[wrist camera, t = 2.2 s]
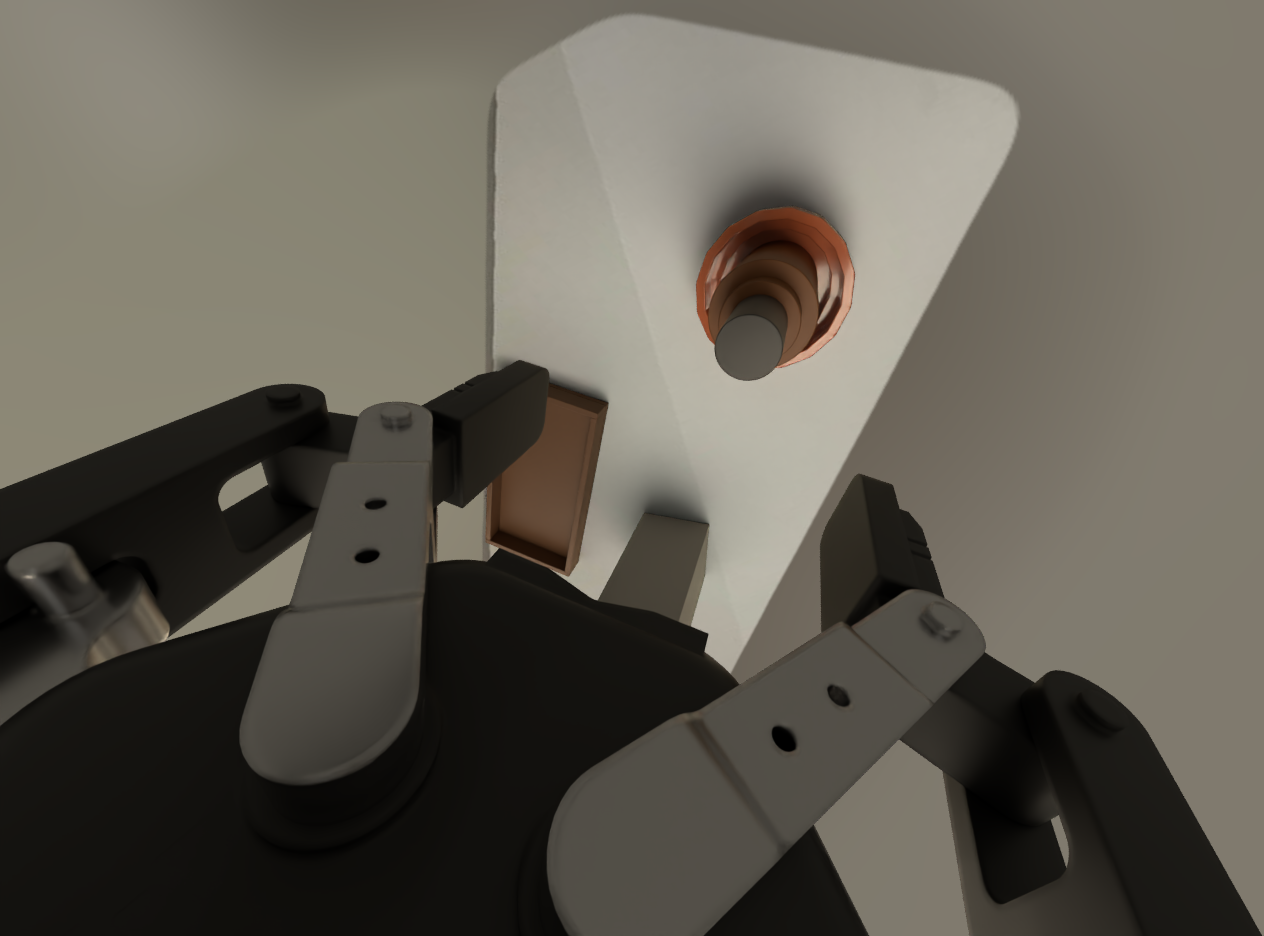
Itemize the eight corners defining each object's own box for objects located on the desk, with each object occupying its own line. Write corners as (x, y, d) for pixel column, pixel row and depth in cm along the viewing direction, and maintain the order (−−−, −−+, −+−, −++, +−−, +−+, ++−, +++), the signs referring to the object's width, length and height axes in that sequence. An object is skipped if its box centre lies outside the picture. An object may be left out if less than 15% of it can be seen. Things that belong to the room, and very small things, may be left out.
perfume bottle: (644, 562, 51) (576, 710, 37) (644, 512, 48) (569, 653, 33) (704, 575, 50) (659, 736, 35) (709, 524, 46) (660, 679, 31)
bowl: (689, 250, 35) (672, 257, 31) (822, 176, 30) (824, 173, 26) (738, 366, 38) (729, 387, 34) (866, 315, 33) (873, 333, 29)
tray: (505, 367, 45) (490, 376, 43) (608, 402, 43) (598, 414, 41) (497, 529, 57) (485, 542, 55) (578, 562, 55) (568, 577, 53)
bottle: (723, 264, 34) (660, 314, 20) (801, 224, 31) (791, 249, 17) (752, 335, 36) (713, 427, 22) (828, 303, 33) (839, 384, 19)
